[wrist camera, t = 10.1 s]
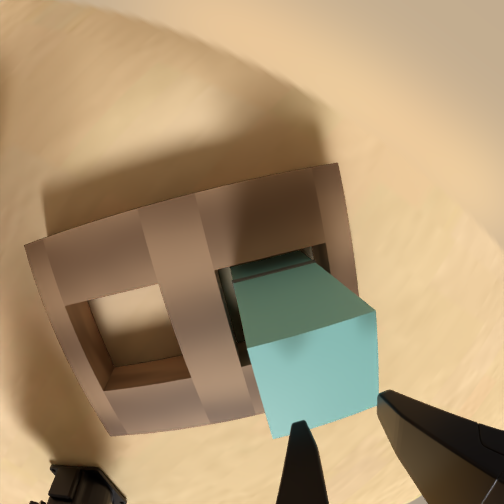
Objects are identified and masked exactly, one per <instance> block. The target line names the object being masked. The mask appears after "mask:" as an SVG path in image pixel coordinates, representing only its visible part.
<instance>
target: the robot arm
mask: <svg viewBox="0 0 504 504" xmlns="http://www.w3.org/2000/svg"><path fill="white" fill-rule="evenodd" d="M377 415H378V418H379V420H380V422H381V424H382V427H383V429H384V431H385V433H386V435H387V437H388V439H389V441H390V443H391V445H392V447H393V450H394V451H395V453H396V455H397V457H398V458H399V460H400V462H401V463H402V465H403V466H404V468H405V469H406V471H407V472H408V474H409V475H410V477H411V478H412V480H413V481H414V483H415V484H416V486H417V488H418V489H419V491H420V492H421V494H422V495H423V497H424V498H425V500H426V501H427V503H428V504H504V431H503V430H499V429H496V428H493V427H489V426H486V425H483V424H480V423H479V424H478V423H477V422H474V421H471V420H468V419H466V418H463V417H460V416H457V415H454V414H452V413H449V412H446V411H444V410H441V409H438V408H436V407H433V406H430V405H428V404H425V403H423V402H420V401H418V400H415V399H413V398H410V397H408V396H405V395H403V394H400V393H398V392H395V391H393V390H386V391H384V392H382V393H379V394H378V396H377ZM50 470H51V471H52V472H53V474H54V475H55V478H54V480H53V483H52V485H51V488H50V490H49V493H48V495H49V496H50V497H49V499H48V502H47V504H127V500H126V499H125V498H124V497H123V496H122V495H121V494H120V492H119V491H118V490H117V489H116V488H115V487H114V486H113V484H112V483H111V482H110V481H109V480H108V479H107V477H106V476H105V475H104V474H103V472H102V471H101V470H100V469H98V468H96V467H75V466H59V465H51V466H50ZM29 504H46V503H45V502H44V501H42V500H41V501H40V502H39V503H37V502H33V501H30V503H29ZM276 504H329V501H328V496H327V491H326V486H325V480H324V475H323V470H322V465H321V460H320V455H319V451H318V447H317V444H316V442H315V440H314V438H313V435H312V433H311V431H310V429H309V427H308V424H307V422H306V421H305V420H301V421H297V422H294V423H292V425H291V430H290V436H289V441H288V447H287V452H286V457H285V462H284V467H283V472H282V477H281V482H280V487H279V492H278V496H277V501H276Z"/></svg>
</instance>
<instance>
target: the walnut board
mask: <svg viewBox="0 0 504 504" xmlns="http://www.w3.org/2000/svg"><path fill="white" fill-rule="evenodd" d="M310 246H312V250H313V256H314V260H315V261H316V263H317V264H318V265H319V266H320V267H322V268H323V269H324V270H326V271H327V272H328V273H329V274H331V275H332V276H333V277H334V278H336V279H337V280H338V281H339V282H341V283H342V284H343V285H344V286H346V287H347V288H348V289H349V290H351V291H352V292H353V293H354V294H356V295H357V296H358V297H359V294H358V285H357V277H356V268H355V261H354V253H353V246H352V239H351V233H350V226H349V220H348V214H347V208H346V202H345V197H344V191H343V186H342V181H341V176H340V171H339V166H338V163H333V164H326V165H320V166H315V167H309V168H304V169H299V170H294V171H289V172H284V173H279V174H274V175H269V176H264V177H260V178H255V179H251V180H246V181H242V182H237V183H233V184H229V185H224V186H220V187H216V188H212V189H208V190H204V191H200V192H196V193H192V194H188V195H184V196H180V197H176V198H173V199H169V200H165V201H161V202H158V203H154V204H150V205H147V206H143V207H140V208H136V209H133V210H129V211H126V212H123V213H119V214H116V215H113V216H109V217H106V218H103V219H100V220H96V221H93V222H90V223H87V224H84V225H81V226H78V227H75V228H71V229H68V230H65V231H62V232H60V233H57V234H54V235H51V236H48V237H45V238H42V239H40V240H37V241H34V242H32V243H29V244H26V245H24V247H25V250H26V254H27V257H28V260H29V264H30V267H31V270H32V273H33V276H34V279H35V282H36V285H37V288H38V291H39V294H40V296H41V299H42V302H43V305H44V307H45V310H46V312H47V315H48V317H49V320H50V322H51V325H52V327H53V329H54V332H55V334H56V336H57V339H58V341H59V343H60V345H61V348H62V350H63V352H64V354H65V356H66V358H67V360H68V362H69V364H70V366H71V368H72V370H73V372H74V374H75V376H76V378H77V380H78V382H79V384H80V386H81V388H82V390H83V391H84V393H85V395H86V397H87V399H88V400H89V402H90V404H91V406H92V407H93V409H94V411H95V412H96V414H97V416H98V417H99V419H100V421H101V422H102V424H103V425H104V427H105V429H106V430H107V432H108V433H109V435H110V436H121V435H134V434H145V433H155V432H163V431H171V430H179V429H185V428H192V427H198V426H204V425H210V424H215V423H221V422H226V421H231V420H236V419H240V418H245V417H249V416H254V415H258V414H262V413H265V410H264V407H263V403H262V400H261V396H260V393H259V389H258V386H257V382H256V379H255V375H254V372H253V368H252V364H251V361H250V357H249V354H248V350H247V346H246V341H244V342H240V343H237V340H236V337H235V333H234V330H233V326H232V323H231V319H230V315H229V312H228V308H227V304H226V301H225V297H224V293H223V290H222V286H221V282H220V278H219V274H218V271H217V269H221V268H225V267H229V266H233V265H237V264H241V263H246V262H250V261H254V260H258V259H262V258H266V257H270V256H274V255H278V254H282V253H286V252H290V251H294V250H298V249H302V248H306V247H310ZM155 284H159V287H160V290H161V293H162V296H163V300H164V303H165V306H166V309H167V312H168V315H169V318H170V321H171V324H172V326H173V329H174V332H175V335H176V338H177V341H178V343H179V346H180V349H181V352H182V354H183V355H181V356H176V357H171V358H166V359H161V360H155V361H150V362H144V363H138V364H132V365H126V366H120V367H114V365H113V363H112V361H111V358H110V356H109V354H108V352H107V349H106V347H105V345H104V342H103V340H102V338H101V335H100V333H99V330H98V328H97V325H96V323H95V320H94V318H93V315H92V313H91V310H90V307H89V305H88V302H87V301H88V300H92V299H96V298H100V297H105V296H109V295H113V294H117V293H121V292H126V291H130V290H134V289H138V288H142V287H147V286H151V285H155Z"/></svg>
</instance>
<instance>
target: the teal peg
mask: <svg viewBox="0 0 504 504" xmlns="http://www.w3.org/2000/svg"><path fill="white" fill-rule="evenodd" d="M230 269H231V274H232V279H233V280H232V284H233V287H234V291H235V295H236V299H237V303H238V308H239V313H240V317H241V322H242V327H243V332H244V336H245V341H246V346H247V350H248V354H249V357H250V361H251V364H252V368H253V372H254V375H255V379H256V382H257V386H258V389H259V393H260V396H261V400H262V403H263V407H264V410H265V414H266V417H267V420H268V424H269V427H270V431H271V434H272V437H273V439H276V438H280V437H283V436H287V435H290V430H291V425H292V423H294V422H297V421H301V420H305V421H306V422H307V424H308V427H309V429H312V428H315V427H318V426H321V425H324V424H327V423H331V422H334V421H336V420H339V419H342V418H345V417H348V416H351V415H353V414H356V413H359V412H361V411H364V410H367V409H369V408H372V407H374V406H377V396H378V394H379V378H378V342H377V323H376V310H374V309H373V308H372V307H371V306H369V305H368V304H367V303H366V302H364V301H363V300H362V299H361V298H359V297H358V296H357V295H356V294H354V293H353V292H352V291H351V290H349V289H348V288H347V287H346V286H344V285H343V284H342V283H341V282H339V281H338V280H337V279H336V278H334V277H333V276H332V275H331V274H329V273H328V272H327V271H326V270H324V269H323V268H322V267H320V266H319V265H318V264H317V263H316V261H315V260H312V259H310V258H309V257H308V256H306V255H305V254H304V253H303V252H301V251H300V250H299V251H295V252H291V253H287V254H283V255H279V256H275V257H271V258H267V259H263V260H259V261H255V262H250V263H246V264H242V265H238V266H234V267H230Z"/></svg>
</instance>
